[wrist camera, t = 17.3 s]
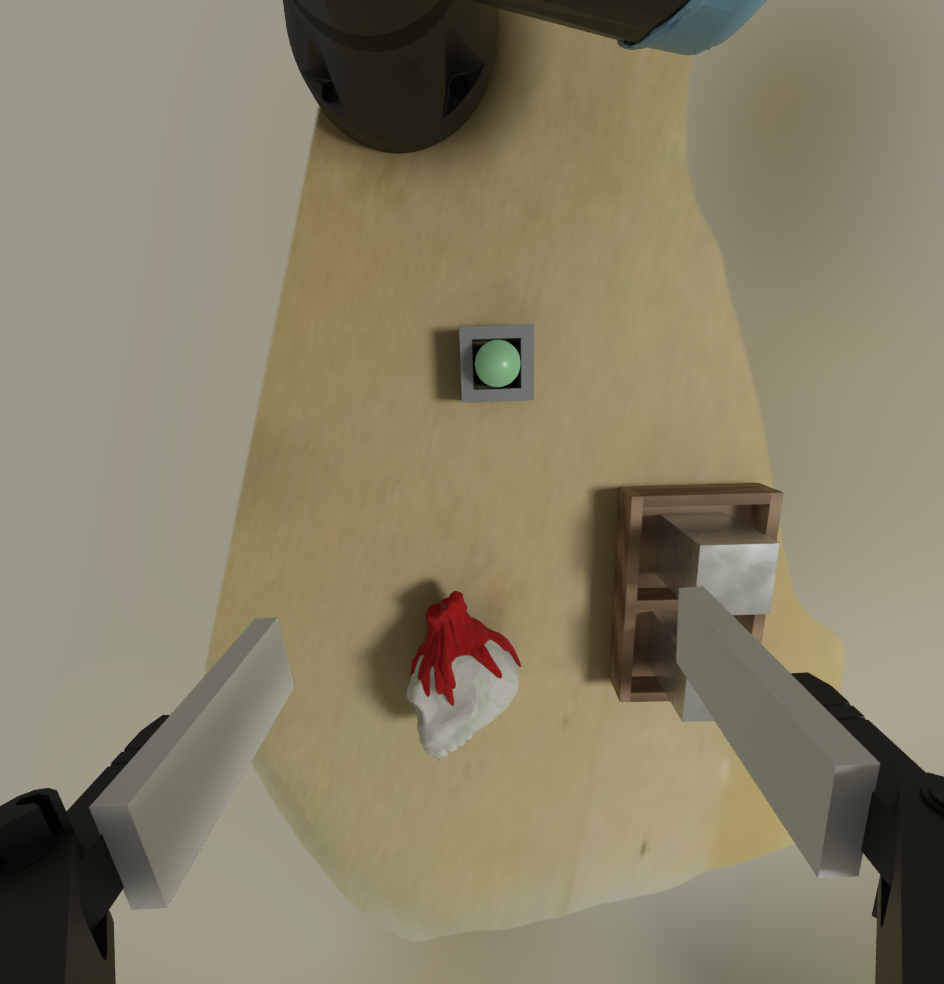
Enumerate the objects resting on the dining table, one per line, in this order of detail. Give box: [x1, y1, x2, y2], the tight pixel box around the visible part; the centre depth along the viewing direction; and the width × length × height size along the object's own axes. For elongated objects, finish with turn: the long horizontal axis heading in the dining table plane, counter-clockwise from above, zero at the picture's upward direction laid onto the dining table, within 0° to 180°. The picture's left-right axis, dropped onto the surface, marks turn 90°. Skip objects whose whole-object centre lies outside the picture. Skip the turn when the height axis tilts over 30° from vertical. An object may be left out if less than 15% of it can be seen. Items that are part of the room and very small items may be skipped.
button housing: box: [459, 324, 534, 402], centre depth 39 cm, size 6×6×3 cm
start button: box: [475, 340, 520, 387], centre depth 37 cm, size 4×4×4 cm
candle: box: [407, 591, 521, 760], centre depth 43 cm, size 9×11×15 cm
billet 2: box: [655, 512, 780, 615], centre depth 39 cm, size 6×6×8 cm
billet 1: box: [648, 610, 715, 722], centre depth 42 cm, size 6×6×8 cm
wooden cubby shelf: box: [610, 483, 783, 702], centre depth 44 cm, size 21×13×4 cm, turn 2°
